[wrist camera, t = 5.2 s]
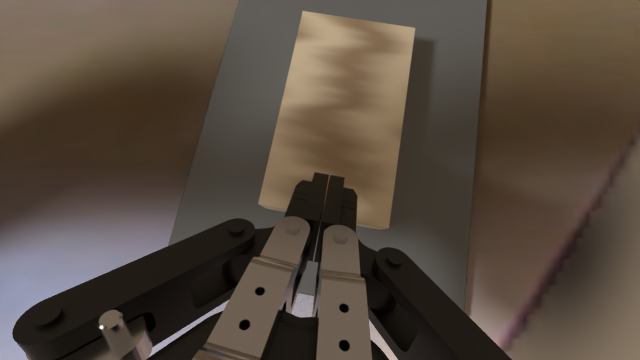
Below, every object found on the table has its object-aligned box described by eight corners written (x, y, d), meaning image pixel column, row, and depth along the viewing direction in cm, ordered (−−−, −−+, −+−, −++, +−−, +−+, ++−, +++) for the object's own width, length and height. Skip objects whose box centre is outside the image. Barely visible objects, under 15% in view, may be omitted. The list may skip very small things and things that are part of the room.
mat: (169, 264, 20) (162, 265, 19) (254, -34, 26) (251, -45, 25) (455, 321, 19) (463, 325, 18) (481, -1, 25) (487, -11, 24)
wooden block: (258, 203, 17) (302, 10, 20) (266, 208, 20) (304, 36, 23) (388, 228, 17) (415, 27, 20) (380, 229, 20) (405, 51, 22)
